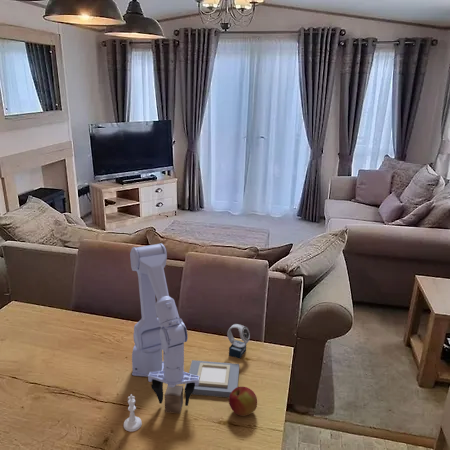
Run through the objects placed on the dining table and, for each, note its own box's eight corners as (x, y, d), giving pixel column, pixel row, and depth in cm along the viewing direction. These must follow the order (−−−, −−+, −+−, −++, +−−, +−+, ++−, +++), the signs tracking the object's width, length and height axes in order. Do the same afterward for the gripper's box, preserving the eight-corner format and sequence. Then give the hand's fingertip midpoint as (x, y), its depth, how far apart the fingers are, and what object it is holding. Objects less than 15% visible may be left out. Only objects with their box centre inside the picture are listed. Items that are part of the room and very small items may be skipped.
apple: (236, 399, 126) (237, 377, 123) (260, 409, 122) (262, 387, 119) (223, 415, 119) (224, 392, 117) (248, 426, 116) (250, 403, 113)
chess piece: (124, 418, 117) (123, 388, 114) (142, 417, 118) (141, 388, 114) (122, 432, 112) (120, 401, 109) (140, 431, 113) (139, 401, 110)
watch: (245, 360, 144) (246, 332, 141) (224, 354, 147) (225, 326, 144) (251, 351, 149) (252, 325, 146) (230, 345, 152) (231, 319, 149)
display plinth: (184, 393, 127) (184, 386, 126) (192, 365, 141) (192, 358, 140) (236, 398, 126) (236, 390, 125) (239, 369, 139) (239, 362, 139)
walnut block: (164, 412, 120) (164, 395, 118) (168, 401, 124) (168, 384, 122) (180, 413, 120) (180, 396, 118) (183, 402, 124) (183, 385, 122)
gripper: (144, 369, 114) (146, 409, 118) (196, 374, 113) (196, 414, 117) (151, 354, 121) (152, 392, 125) (200, 358, 119) (200, 397, 124)
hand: (174, 402), depth 121 cm, fingers open, 7 cm apart
